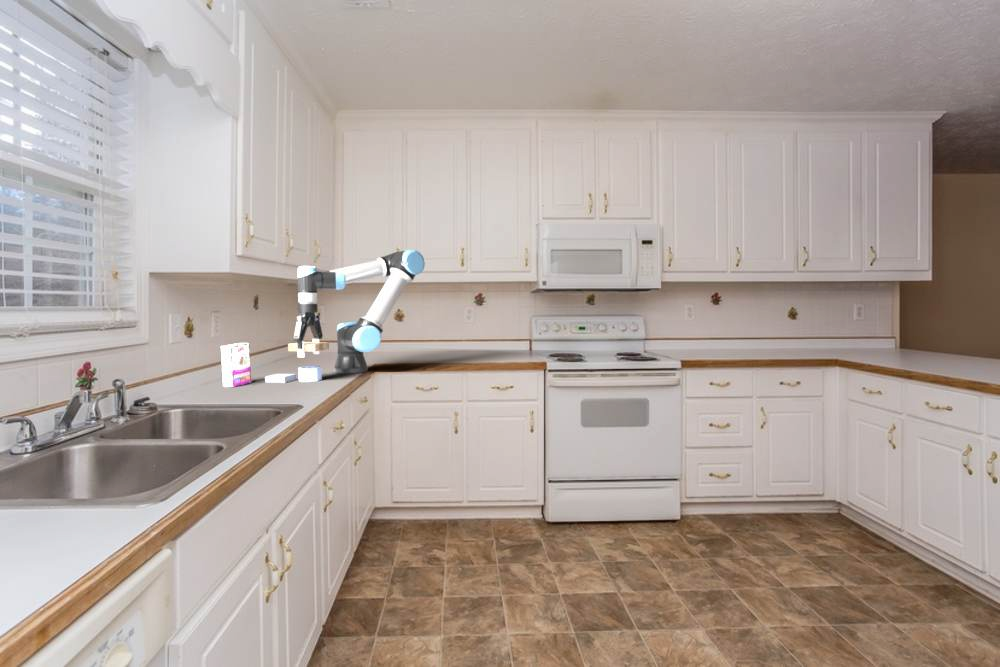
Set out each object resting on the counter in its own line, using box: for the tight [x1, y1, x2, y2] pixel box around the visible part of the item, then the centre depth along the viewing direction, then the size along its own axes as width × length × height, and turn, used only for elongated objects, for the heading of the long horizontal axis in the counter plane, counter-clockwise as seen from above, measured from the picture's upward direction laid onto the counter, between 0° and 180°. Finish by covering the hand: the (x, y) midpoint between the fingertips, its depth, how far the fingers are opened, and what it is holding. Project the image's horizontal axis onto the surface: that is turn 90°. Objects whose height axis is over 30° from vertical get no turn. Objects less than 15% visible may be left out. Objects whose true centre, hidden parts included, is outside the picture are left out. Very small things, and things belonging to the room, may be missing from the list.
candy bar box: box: [220, 342, 252, 388], centre depth 201 cm, size 11×5×16 cm, turn 171°
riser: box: [264, 373, 297, 384], centre depth 210 cm, size 8×9×2 cm
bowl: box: [297, 365, 323, 383], centre depth 212 cm, size 9×9×6 cm
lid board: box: [287, 341, 330, 353], centre depth 211 cm, size 11×12×3 cm
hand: (309, 355), depth 211 cm, fingers closed on lid board, 11 cm apart
